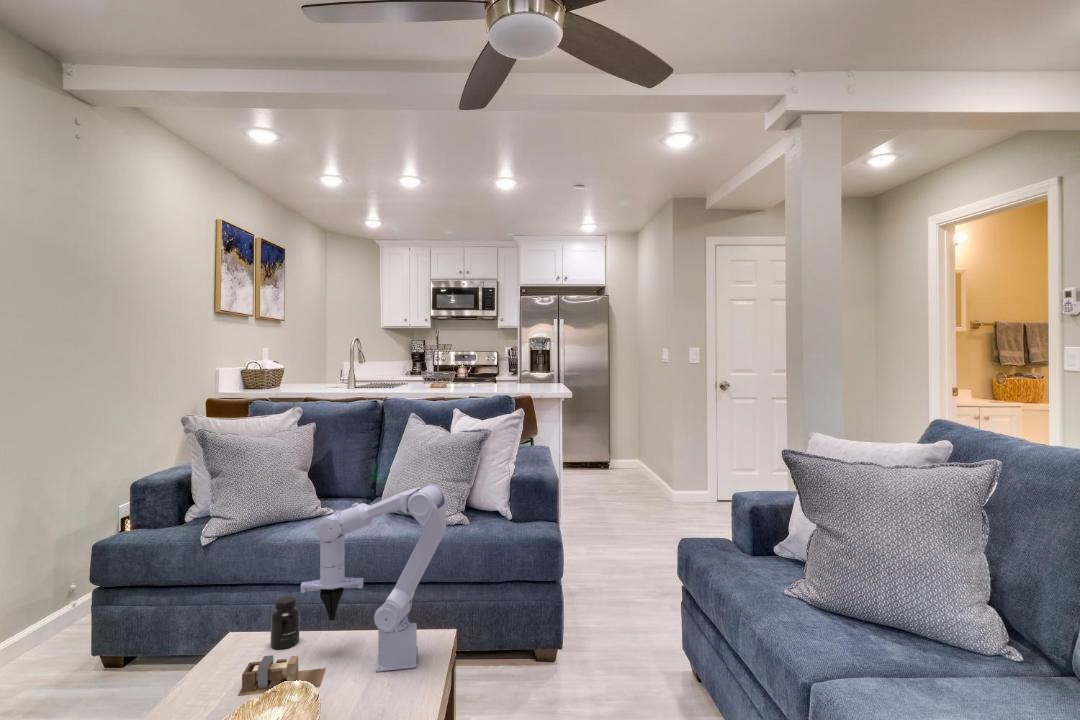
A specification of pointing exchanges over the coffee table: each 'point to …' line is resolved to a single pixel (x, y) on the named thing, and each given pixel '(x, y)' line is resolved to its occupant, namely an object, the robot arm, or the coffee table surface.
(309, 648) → the coffee table surface
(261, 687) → the collar
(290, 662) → the shaft
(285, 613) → the supplement bottle
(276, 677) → the jig
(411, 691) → the coffee table surface
